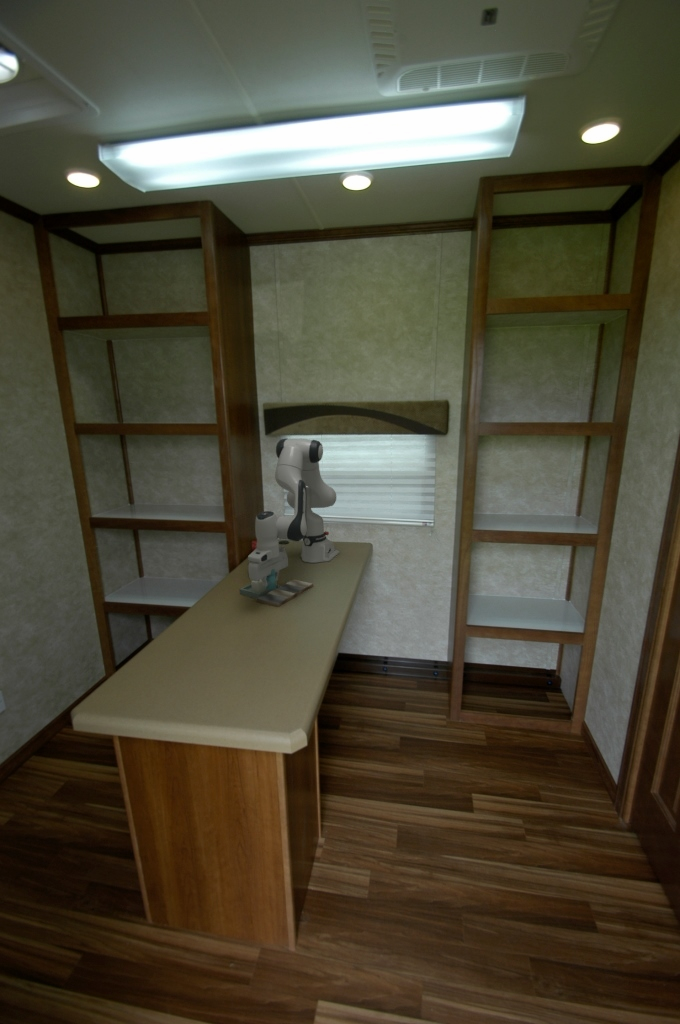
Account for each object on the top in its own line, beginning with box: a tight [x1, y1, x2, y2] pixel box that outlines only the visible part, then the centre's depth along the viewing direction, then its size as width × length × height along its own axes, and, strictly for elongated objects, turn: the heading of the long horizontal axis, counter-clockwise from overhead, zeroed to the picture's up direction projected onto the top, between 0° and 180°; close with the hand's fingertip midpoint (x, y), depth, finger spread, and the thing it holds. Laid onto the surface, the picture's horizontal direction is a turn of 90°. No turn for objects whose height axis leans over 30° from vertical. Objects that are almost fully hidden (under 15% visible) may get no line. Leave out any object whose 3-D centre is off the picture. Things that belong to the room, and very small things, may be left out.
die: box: [250, 579, 266, 593], centre depth 189 cm, size 4×4×5 cm
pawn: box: [266, 569, 277, 590], centre depth 176 cm, size 4×4×10 cm
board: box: [255, 578, 314, 608], centre depth 186 cm, size 24×12×1 cm, turn 147°
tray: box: [238, 583, 279, 600], centre depth 189 cm, size 12×12×2 cm
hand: (270, 583), depth 177 cm, fingers closed on pawn, 4 cm apart
